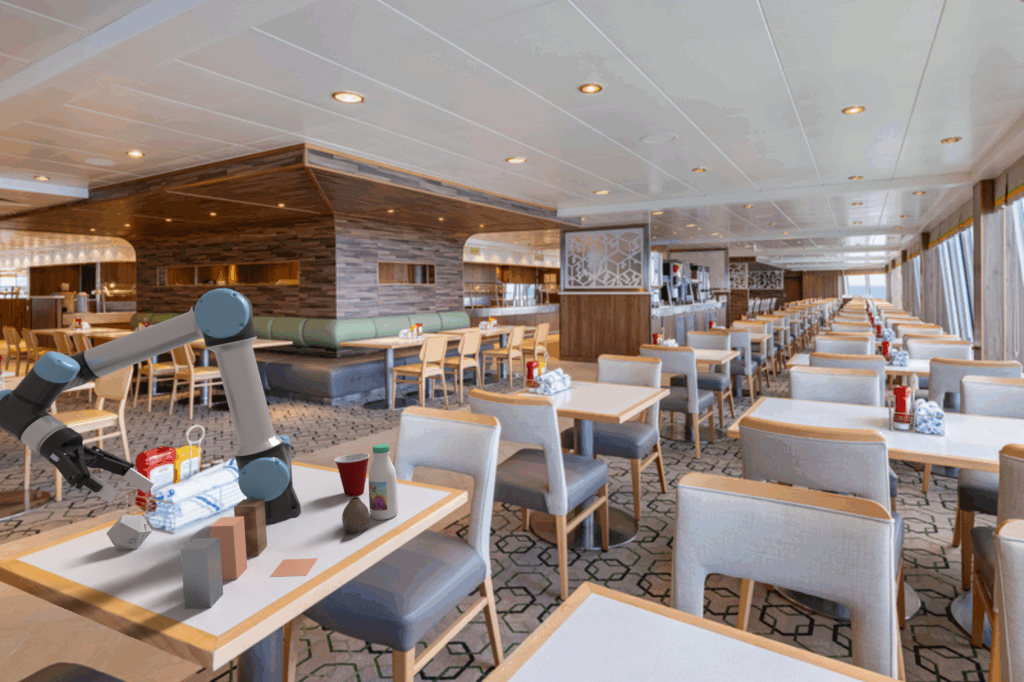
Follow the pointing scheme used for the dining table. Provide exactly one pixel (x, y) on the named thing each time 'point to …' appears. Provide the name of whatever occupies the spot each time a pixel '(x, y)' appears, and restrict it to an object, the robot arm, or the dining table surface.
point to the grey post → (201, 573)
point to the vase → (355, 516)
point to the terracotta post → (231, 545)
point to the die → (129, 532)
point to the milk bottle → (382, 485)
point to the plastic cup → (353, 472)
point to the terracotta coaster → (294, 567)
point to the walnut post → (253, 524)
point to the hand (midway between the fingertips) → (133, 492)
